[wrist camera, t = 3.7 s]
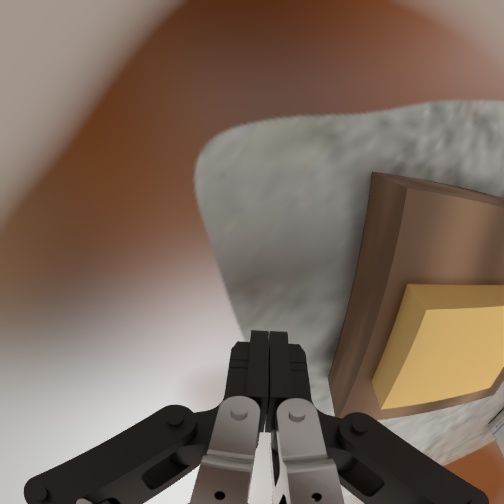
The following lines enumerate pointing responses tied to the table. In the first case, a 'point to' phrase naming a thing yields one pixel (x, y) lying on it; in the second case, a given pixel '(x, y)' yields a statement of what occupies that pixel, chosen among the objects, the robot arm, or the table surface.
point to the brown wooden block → (411, 276)
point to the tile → (442, 344)
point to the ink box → (498, 430)
